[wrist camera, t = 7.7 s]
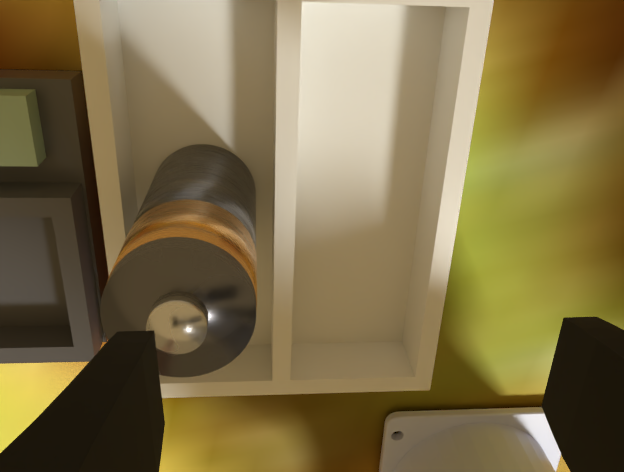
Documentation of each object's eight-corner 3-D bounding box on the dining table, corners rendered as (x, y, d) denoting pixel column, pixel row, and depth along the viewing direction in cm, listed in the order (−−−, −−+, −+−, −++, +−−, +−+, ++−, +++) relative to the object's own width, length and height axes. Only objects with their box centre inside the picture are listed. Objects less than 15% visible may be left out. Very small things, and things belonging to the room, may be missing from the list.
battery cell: (255, 240, 20) (255, 392, 13) (154, 238, 19) (100, 393, 12) (257, 145, 18) (259, 260, 11) (149, 141, 18) (85, 257, 11)
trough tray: (409, 338, 23) (430, 390, 21) (140, 343, 22) (124, 399, 20) (459, -25, 17) (496, -18, 15) (98, -39, 16) (68, -35, 14)
